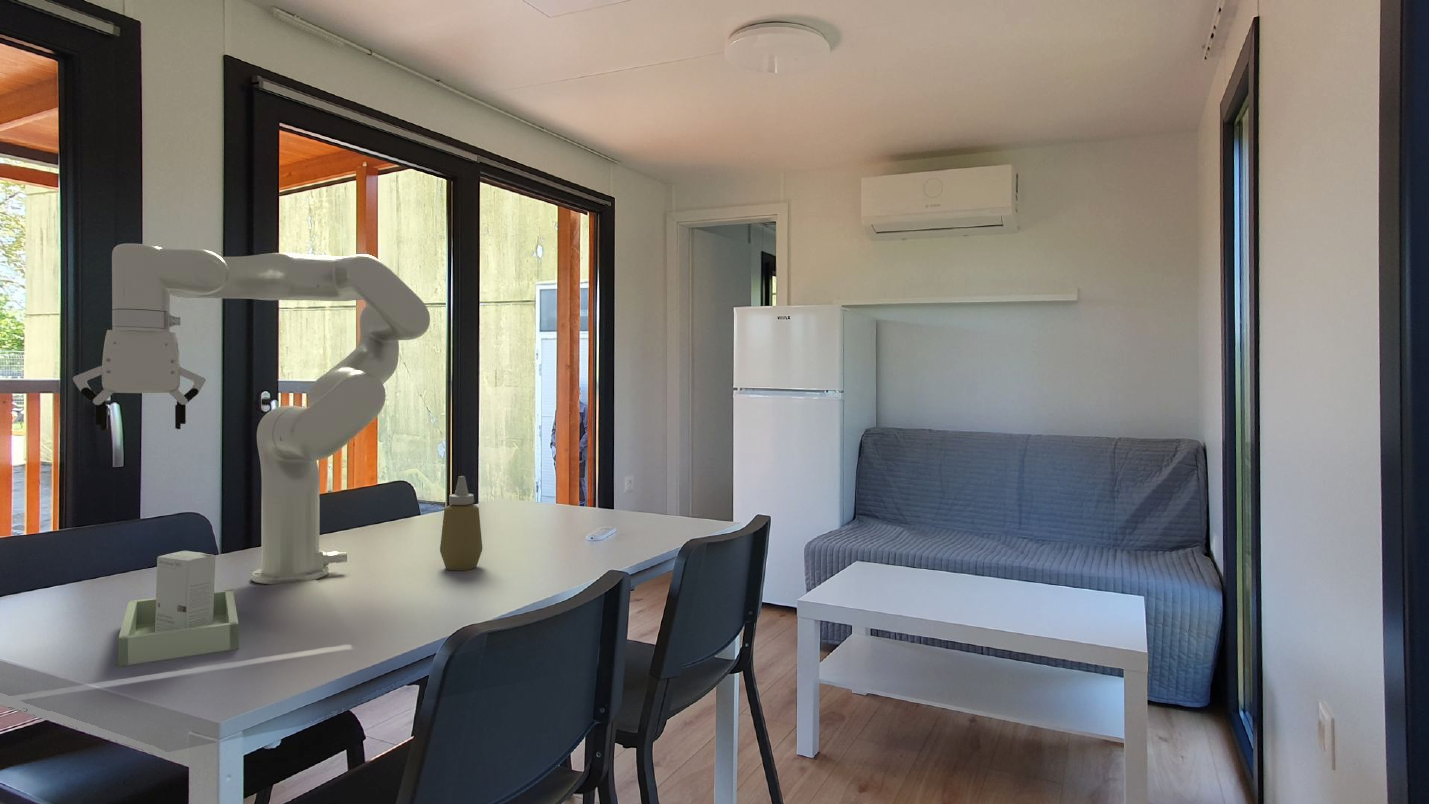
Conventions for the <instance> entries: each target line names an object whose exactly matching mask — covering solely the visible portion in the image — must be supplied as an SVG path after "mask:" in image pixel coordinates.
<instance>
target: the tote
mask: <svg viewBox="0 0 1429 804" xmlns="http://www.w3.org/2000/svg"><path fill="white" fill-rule="evenodd" d="M124 613H125V614H124V618H123V620H122V623H121V627H120V630H119V635H118V638H117V664H118V665H117V666H118V667H124V666H130V665H131V666H132V665H138V664H144V663H150V662H157V661H165V660H171V659H172V660H173V659H179V658H186V657H193V656H199V655H206V654H207V655H208V654H212V653H214V654H215V653H219V652H220V653H221V652H225V651H226V652H227V651H233V650H239V648H240V647H239V642H240V641H239V632H240V631H239V618H238V613H237V608H236V602H235V595H234V590H233V589H225V590H216V591H215V590H214V607H213V625H207V626H200V627H192V628H184V629H177V630H169V631H161V632H155V615H156V597H153V598H142V599H135V600H129V601H128V603H127V607H126V610H125V612H124Z"/></svg>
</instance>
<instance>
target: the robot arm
mask: <svg viewBox="0 0 1429 804" xmlns="http://www.w3.org/2000/svg"><path fill="white" fill-rule="evenodd" d="M111 275H112V276H111V281H112V282H111V285H112V286H111V288H112V289H111V290H112V291H111V295H112V296H111V299H112V300H111V301H112V302H111V303H112V305H111V306H112V308H111V309H112V311H111V313H112V315H111V319H112V320H111V322H112V324H111V325H112V327H111V328H112V329H107V330H106V334H105V338H104V345H103V352H102V361H101V363H102V364H101V365H100V366H97V367H95V368H92V369H89V370H86V371H84V372H81V373H78V375H76V374H75V376H73V378H72V381H73V382H74V384H75V386H76V388H77V389H78V390H79V391H80V392H81V394H82V395H83V396H85V398H87V399H88V400H89V401H91V402H92V403H93V404H94V405H95V426H100V431H101V432H102V431H104V432H105V431H107V430H109V405H107V400H108V399H109V398H110V397H111V396H112V395H113V394H114V393H115V394H116V393H119V394H123V393H124V394H170V395H171V396H172V397H173V398H174V399H175V400H176V404H175V405H174V416H175V417H174V423H175V425H174V426H175V427H174V428H175V429H176V430H181V426H182V425H186V421H187V419H186V415H187V414H186V411H187V410H186V407H187V406H186V405H187V404H188V403H189V402H191V400H192V399H194V397H196V396H197V395H198V394H199V393H200V391H201V389H202V388H203V386H204V385H205V383H206V380H207V379H206V378H205V377H203V376H202V375H199V374H197V373H195V372H192V371H191V370H187V369H186V368H183V367H181V366H180V351H179V350H180V349H179V343H178V338H177V335H176V332H171V328H172V327H175V326H181V317H179V316H178V317H177V316H175V315H172V314H170V313H171V311H170V309H171V296H173V297H177V298H184V299H192V298H193V299H249V300H250V299H251V300H260V301H315V302H316V301H317V302H319V301H323V302H351V301H361V300H363V302H364V303H365V304H366V305H365V306H364V307H363V309H362V310H361V313H360V316H359V331H360V332H359V335H360V336H359V341H358V344H357V346H356V347H355V348H354V350H352V351H351V353H349V355H347V356H346V357H345V358H343V359H342V360H340V362H338V363H337V364H336V365H335V366H333V367H332V368H330V369H329V370H328V371H327V372H325V373H324V374H322V375H321V376H320V377H318V378H317V379H316V380H315V381H314V382H313V383H312V385H311V387H310V388H309V391H308V395H307V396H308V404H309V406H302V405H301V406H300V405H283V406H278V407H275V408H273V409H271V410H269V411H268V412H267V413H266V414H264V416H263V417H262V418H261V419H260V421H259V423H258V425H257V431H256V445H257V450H258V451H257V452H258V456H259V462H260V473H261V474H260V475H261V505H260V506H261V510H260V512H261V514H260V515H261V518H260V519H261V525H260V527H261V535H260V536H261V558H260V559H261V568H258V569H256V570H254V571H253V572H251V580H252V581H253V582H254V583H257V584H258V583H259V584H264V585H280V584H290V583H300V582H309V581H315V580H317V579H321V578H324V577H325V576H327V575H328V574H329V570H330V568H329V564H339V563H340V564H341V563H347V562H348V554H347V552H346V551H344V552H338V551H331V552H325V551H323V549H322V548H321V546H320V492H321V479H320V470H319V465H318V461H322V460H324V459H328V458H329V457H331V456H333V455H335V454H337V452H339V451H340V450H341V449H342V448H343V447H345V446H346V445H347V444H348V443H349V442H351V440H353V439H354V438H356V437H357V435H358V434H361V432H362V431H363V430H364V429H366V428H367V427H368V426H369V425H370V424H371V423H373V421H374V420H375V419H376V418H377V417H378V416H379V414H380V413H381V412H382V410H383V408H384V405H385V403H386V396H387V395H386V389H385V385H384V384H385V383H386V382H387V381H388V380H389V379H390V378H391V377H392V376H393V374H394V373H395V371H396V369H397V367H398V363H399V353H400V345H399V344H400V343H399V341H412V340H415V339H418V338H421V337H422V336H423V335H424V334H425V333H426V332H427V331H428V329H429V327H430V324H431V315H430V311H429V309H428V307H427V305H426V304H425V302H424V301H423V299H421V298H420V297H419V296H418V295H417V294H416V293H415V291H413V290H412V289H411V288H410V287H409V285H407V284H406V283H405V282H404V281H403V280H402V279H401V278H400V277H399V276H398V275H397V274H396V273H395V272H394V271H392V269H390V268H389V267H388V266H387V265H386V264H384V263H383V262H382V261H381V260H379V259H378V258H376V257H375V256H372V255H370V254H366V253H365V254H363V253H362V254H354V255H353V254H352V255H347V256H337V255H335V256H334V255H317V254H316V255H314V254H301V253H287V252H272V253H260V254H255V255H245V256H220V255H218V254H216V253H215V252H213V251H211V250H206V249H201V248H199V249H198V248H185V249H184V248H164V247H159V246H156V245H150V244H144V243H121V244H117V245H116V246H114V247H113V250H112V253H111ZM99 376H101V385H102V388H103V390H101V391H100V392H99V394H98V393H97V392H95V391H94V390H93V389H92V388H91V387H90V385H89V384H88V381H89V380H91V379H94V378H96V377H99ZM181 377H183V378H185V379H188V380H189V381H192V382H193V386H192V387H191V389H189V390H188V391H187V392H186V393H184V394H183V393H182V392H181V390H179V388H180V386H181V385H180V384H181Z"/></svg>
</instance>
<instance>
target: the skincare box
mask: <svg viewBox="0 0 1429 804" xmlns="http://www.w3.org/2000/svg"><path fill="white" fill-rule="evenodd" d="M156 559H157V560H156V587H155V588H156V589H155V590H156V591H155V592H156V593H155V598H156V615H155V632H161V631H169V630H177V629H184V628H192V627H200V626H207V625H213V607H214V591H215V577H216V575H215V574H216V555H215V554H208V553H204V552H199V551H197V552H196V551H190V550H181V551H177V552H176V551H175V552H172V553H167V554H163V555H159V556H157V558H156Z"/></svg>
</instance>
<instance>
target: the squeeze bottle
mask: <svg viewBox="0 0 1429 804" xmlns="http://www.w3.org/2000/svg"><path fill="white" fill-rule="evenodd" d="M448 498H449V499H448V503H449V505H447V506H446V507H445V508H444V509H443V518H442V519H443V520H442V526H441V537H440V545H439V553H440V556H441V558H442V561H443V564H444V568H445V569H446V570H451V571H467V570H471V569H475V568H476V567H477V566H478V564H479V560H480V558H481V555H482V552H483V541H482V540H483V539H482V532H481V531H482V529H481V519H480V510H479V509H480V507H478V506H477V505H475V504H474V503H475V496H474V494H473V493H469V490H468V484H467V480H466V476H464V475H460V476H458V478H457V483H456V487H455V491H454V494H449V497H448Z"/></svg>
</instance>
